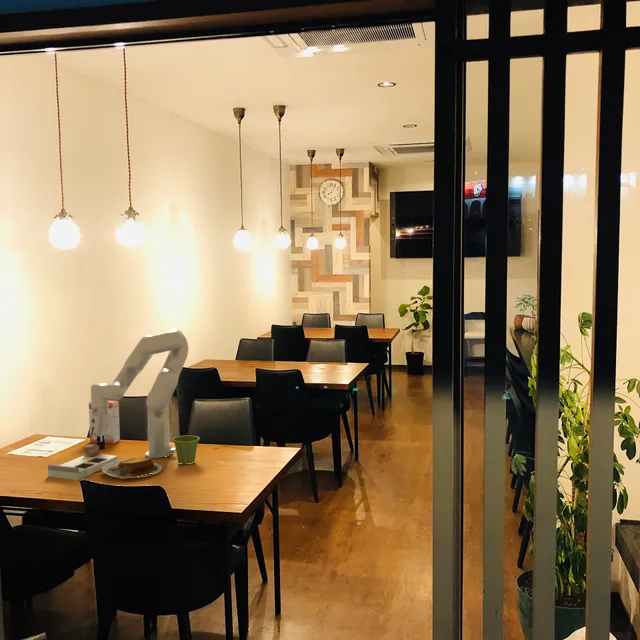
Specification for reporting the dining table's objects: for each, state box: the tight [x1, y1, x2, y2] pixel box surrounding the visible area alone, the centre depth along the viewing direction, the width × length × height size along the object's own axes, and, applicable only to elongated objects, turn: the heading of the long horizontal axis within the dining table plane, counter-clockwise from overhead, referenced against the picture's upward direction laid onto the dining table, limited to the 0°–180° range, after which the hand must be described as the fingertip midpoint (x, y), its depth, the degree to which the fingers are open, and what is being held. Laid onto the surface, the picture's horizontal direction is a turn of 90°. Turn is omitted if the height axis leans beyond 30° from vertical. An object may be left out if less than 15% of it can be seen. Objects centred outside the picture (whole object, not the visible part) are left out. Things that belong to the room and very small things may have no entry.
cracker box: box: [88, 400, 121, 445], centre depth 334 cm, size 14×6×21 cm, turn 73°
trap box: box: [47, 453, 119, 481], centre depth 288 cm, size 15×26×5 cm, turn 160°
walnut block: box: [83, 444, 100, 458], centre depth 298 cm, size 4×4×4 cm
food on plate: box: [101, 456, 163, 480], centre depth 283 cm, size 25×25×7 cm
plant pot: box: [172, 434, 201, 464], centre depth 296 cm, size 12×12×11 cm
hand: (101, 449), depth 305 cm, fingers closed
